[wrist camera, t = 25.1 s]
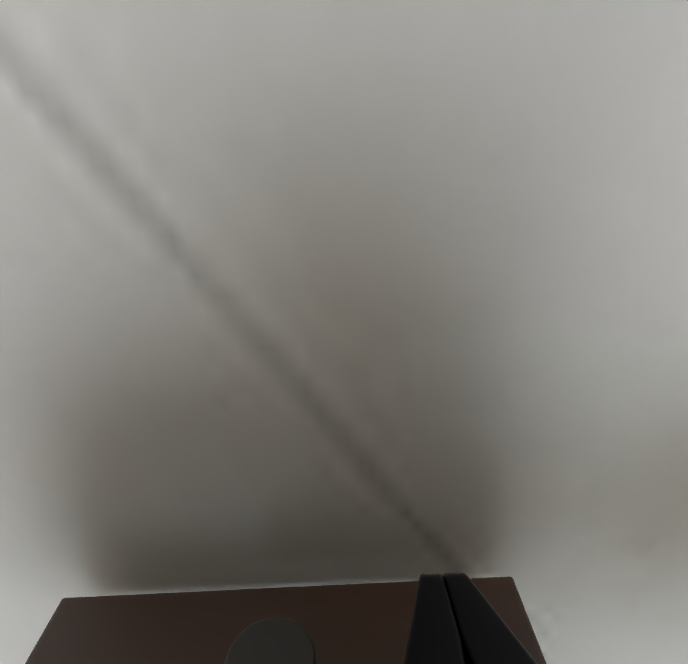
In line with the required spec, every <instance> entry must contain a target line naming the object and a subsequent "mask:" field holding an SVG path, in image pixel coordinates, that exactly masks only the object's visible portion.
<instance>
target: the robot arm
mask: <svg viewBox="0 0 688 664" xmlns="http://www.w3.org/2000/svg"><path fill="white" fill-rule="evenodd" d="M404 664H537V663H536V661H535V660H534V659H533V658H532V656H531V655H530V654H529V652H528V651H527V650H526V649H525V647H524V646H523V645H522V644H521V642H520V641H519V640H518V639H517V637H516V636H515V635H514V634H513V632H512V631H511V630H510V628H509V627H508V626H507V625H506V623H505V622H504V621H503V620H502V618H501V617H500V616H499V615H498V613H497V612H496V611H495V609H494V608H493V607H492V606H491V604H490V603H489V602H488V601H487V599H486V598H485V597H484V596H483V594H482V593H481V592H480V591H479V589H478V588H477V587H476V585H475V584H474V583H473V582H472V580H471V579H470V578H469V577H468V576H467V575H466V574H465V573H461V572H460V573H445V574H444V575H443V576H442V575H441V574H438V573H436V574H422V575H421V576H420V578H419V583H418V588H417V594H416V599H415V605H414V610H413V616H412V621H411V627H410V632H409V638H408V643H407V649H406V654H405V660H404Z"/></svg>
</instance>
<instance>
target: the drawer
mask: <svg viewBox="0 0 688 664" xmlns="http://www.w3.org/2000/svg"><path fill="white" fill-rule="evenodd" d="M471 580H472V582H473V583H474V584H475V585H476V587H477V588H478V589H479V591H480V592H481V593H482V594H483V596H484V597H485V598H486V599H487V601H488V602H489V603H490V604H491V606H492V607H493V608H494V609H495V611H496V612H497V613H498V615H499V616H500V617H501V618H502V620H503V621H504V622H505V623H506V625H507V626H508V627H509V628H510V630H511V631H512V632H513V634H514V635H515V636H516V637H517V639H518V640H519V641H520V642H521V644H522V645H523V646H524V647H525V649H526V650H527V651H528V652H529V654H530V655H531V656H532V658H533V659H534V660H535V661H536V663H537V664H546V661H545V659H544V656H543V654H542V651H541V649H540V646H539V644H538V641H537V639H536V636H535V634H534V631H533V628H532V626H531V623H530V621H529V618H528V616H527V613H526V611H525V608H524V606H523V603H522V601H521V598H520V596H519V593H518V590H517V588H516V585H515V583H514V580H513V578H512V577H493V578H472V579H471ZM418 583H419V581H410V582H389V583H368V584H347V585H326V586H305V587H284V588H263V589H243V590H222V591H201V592H180V593H159V594H138V595H117V596H96V597H75V598H63V599H62V600H61V602H60V604H59V606H58V607H57V609H56V611H55V612H54V614H53V616H52V618H51V619H50V621H49V623H48V625H47V626H46V628H45V630H44V632H43V633H42V635H41V637H40V639H39V640H38V642H37V644H36V646H35V647H34V649H33V651H32V653H31V654H30V656H29V658H28V660H27V661H26V663H25V664H404V660H405V654H406V649H407V643H408V638H409V632H410V627H411V621H412V616H413V610H414V605H415V599H416V594H417V588H418Z"/></svg>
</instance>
